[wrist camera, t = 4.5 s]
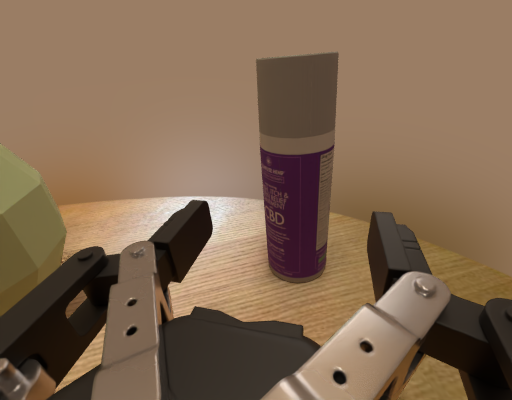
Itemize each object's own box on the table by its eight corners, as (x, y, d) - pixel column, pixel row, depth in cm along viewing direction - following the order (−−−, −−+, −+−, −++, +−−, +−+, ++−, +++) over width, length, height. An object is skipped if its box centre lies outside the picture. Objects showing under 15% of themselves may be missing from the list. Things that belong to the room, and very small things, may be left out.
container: (258, 273, 20) (238, 60, 13) (280, 238, 24) (273, 57, 17) (317, 290, 19) (330, 52, 11) (331, 251, 22) (348, 50, 15)
